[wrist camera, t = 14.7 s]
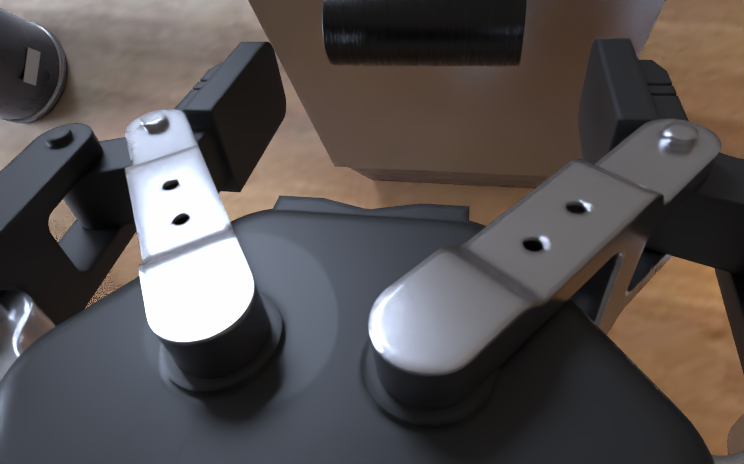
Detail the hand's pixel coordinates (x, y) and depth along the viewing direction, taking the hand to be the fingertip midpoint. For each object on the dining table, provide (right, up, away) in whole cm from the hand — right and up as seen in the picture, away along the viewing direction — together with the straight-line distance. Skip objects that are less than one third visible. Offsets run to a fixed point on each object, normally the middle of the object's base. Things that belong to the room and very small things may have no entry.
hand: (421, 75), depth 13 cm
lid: (+2, +3, +8) cm, 9 cm away
